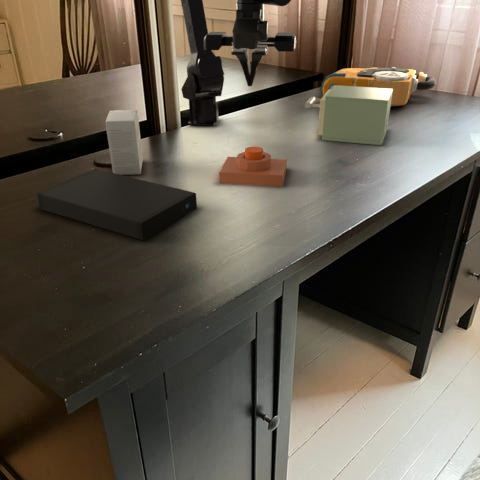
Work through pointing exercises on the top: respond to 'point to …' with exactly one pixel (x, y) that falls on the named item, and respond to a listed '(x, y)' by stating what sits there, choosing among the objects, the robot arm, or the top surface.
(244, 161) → the block
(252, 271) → the top surface
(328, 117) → the sage green box
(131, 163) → the small box
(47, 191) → the external hard drive
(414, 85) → the device
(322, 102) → the drawer
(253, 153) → the button
